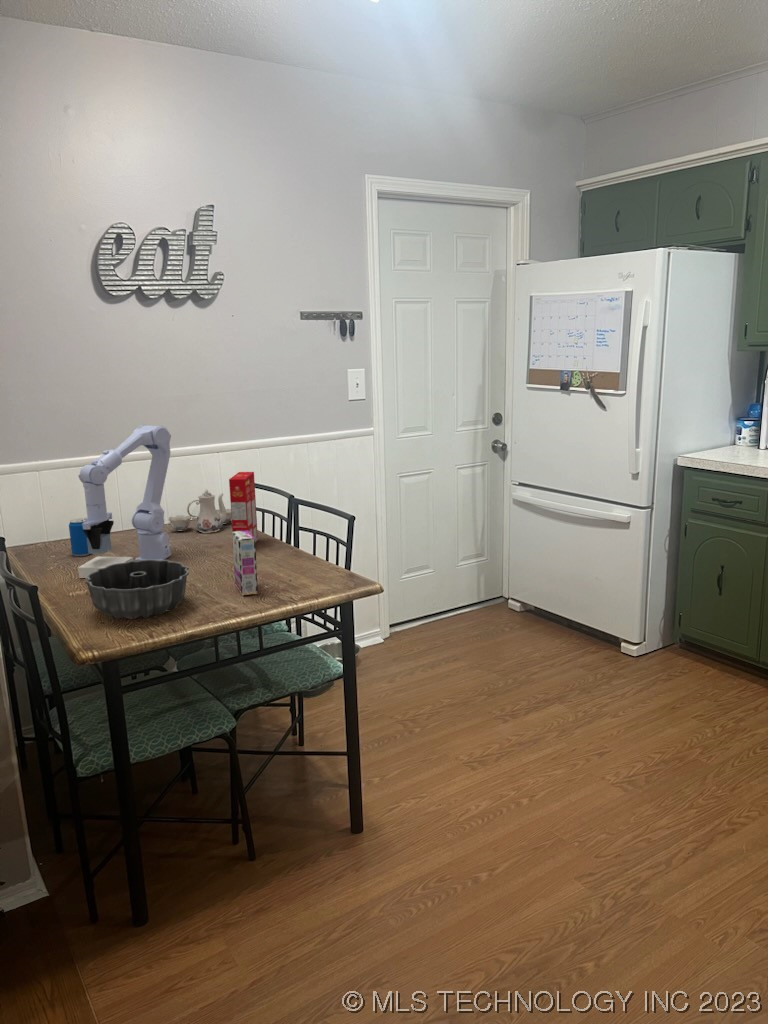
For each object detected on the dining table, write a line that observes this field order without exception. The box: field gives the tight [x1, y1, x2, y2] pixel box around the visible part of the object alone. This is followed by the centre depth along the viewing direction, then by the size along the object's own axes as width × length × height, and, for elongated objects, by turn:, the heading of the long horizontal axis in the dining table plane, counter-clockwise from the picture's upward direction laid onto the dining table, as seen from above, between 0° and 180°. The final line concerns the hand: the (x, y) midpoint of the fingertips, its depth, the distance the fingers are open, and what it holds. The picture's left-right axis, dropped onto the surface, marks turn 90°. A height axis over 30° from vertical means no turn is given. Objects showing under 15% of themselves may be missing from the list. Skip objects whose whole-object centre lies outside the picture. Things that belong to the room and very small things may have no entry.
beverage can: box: [68, 517, 90, 557], centre depth 255 cm, size 6×6×12 cm
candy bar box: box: [231, 530, 259, 593], centre depth 214 cm, size 11×5×16 cm, turn 21°
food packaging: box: [228, 471, 259, 540], centre depth 261 cm, size 15×5×25 cm, turn 178°
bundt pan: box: [84, 559, 190, 620], centre depth 202 cm, size 26×26×10 cm
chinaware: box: [166, 489, 232, 532], centre depth 287 cm, size 28×17×17 cm, turn 130°
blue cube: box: [87, 533, 113, 555], centre depth 234 cm, size 5×5×5 cm
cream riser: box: [77, 556, 134, 578], centre depth 234 cm, size 12×12×4 cm
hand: (100, 546), depth 234 cm, fingers closed on blue cube, 5 cm apart
